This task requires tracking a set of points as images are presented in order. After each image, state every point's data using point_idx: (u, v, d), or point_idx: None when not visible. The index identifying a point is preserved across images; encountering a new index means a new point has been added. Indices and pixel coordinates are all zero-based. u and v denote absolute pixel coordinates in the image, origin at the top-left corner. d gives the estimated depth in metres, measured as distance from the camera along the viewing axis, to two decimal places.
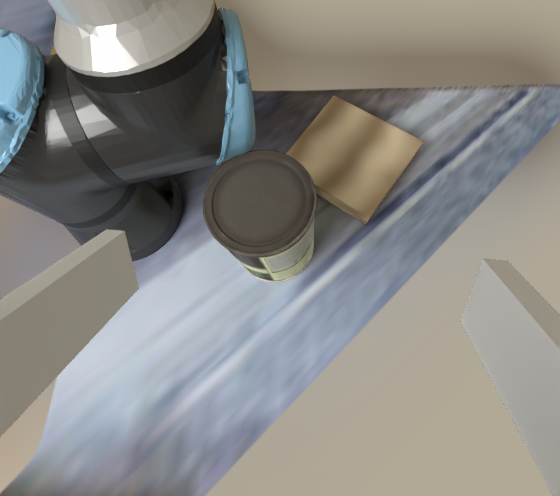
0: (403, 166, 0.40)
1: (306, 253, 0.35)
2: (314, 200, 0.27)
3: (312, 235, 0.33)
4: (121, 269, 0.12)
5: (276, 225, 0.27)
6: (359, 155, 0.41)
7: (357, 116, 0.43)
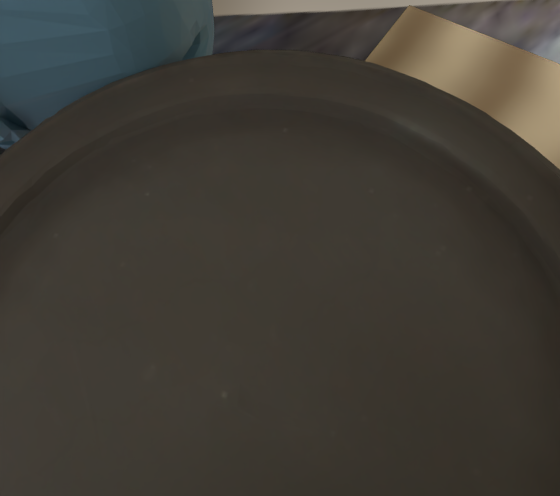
0: None
1: None
2: None
3: None
4: None
5: None
6: None
7: (467, 45, 0.19)
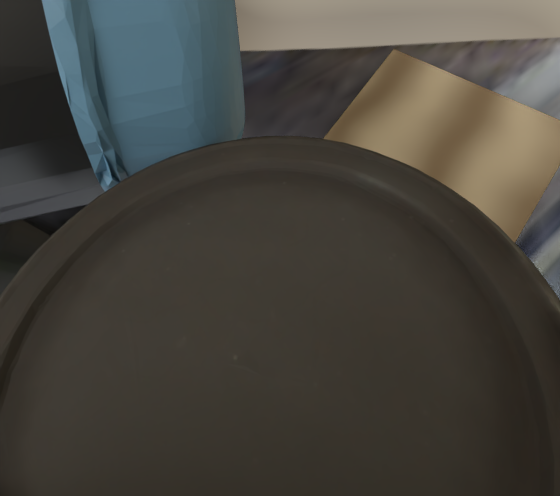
0: (547, 178, 0.20)
1: None
2: None
3: None
4: None
5: None
6: (453, 157, 0.21)
7: (442, 84, 0.23)
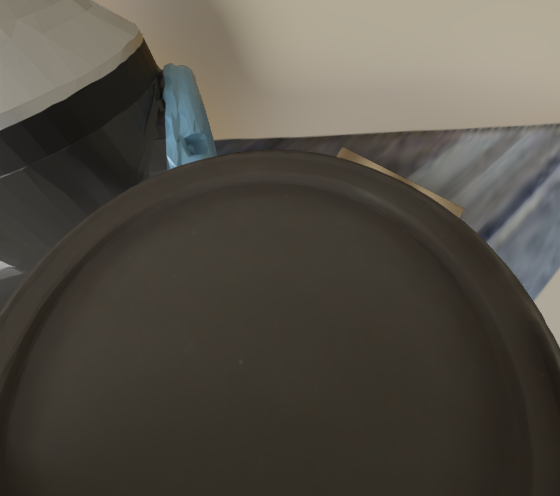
0: None
1: None
2: (559, 374, 0.05)
3: None
4: None
5: None
6: None
7: None
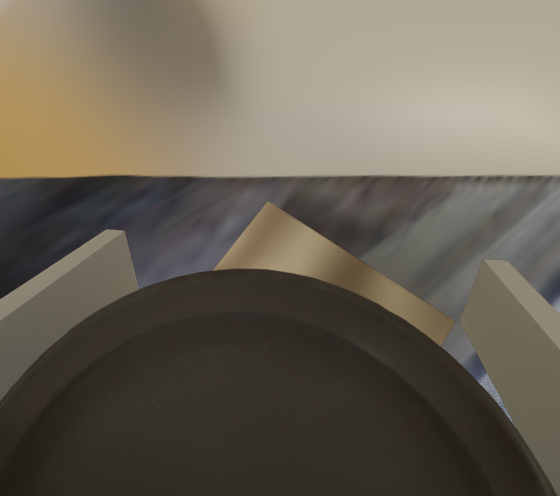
0: None
1: None
2: None
3: None
4: (121, 269, 0.12)
5: None
6: None
7: (313, 252, 0.21)
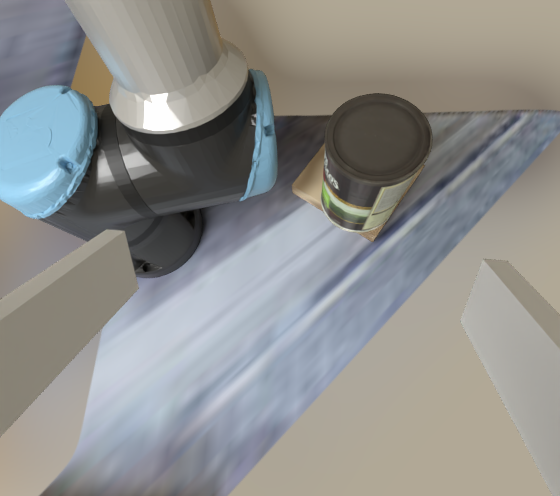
0: None
1: None
2: (430, 133, 0.30)
3: None
4: (121, 269, 0.12)
5: (397, 156, 0.30)
6: None
7: None
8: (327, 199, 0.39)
